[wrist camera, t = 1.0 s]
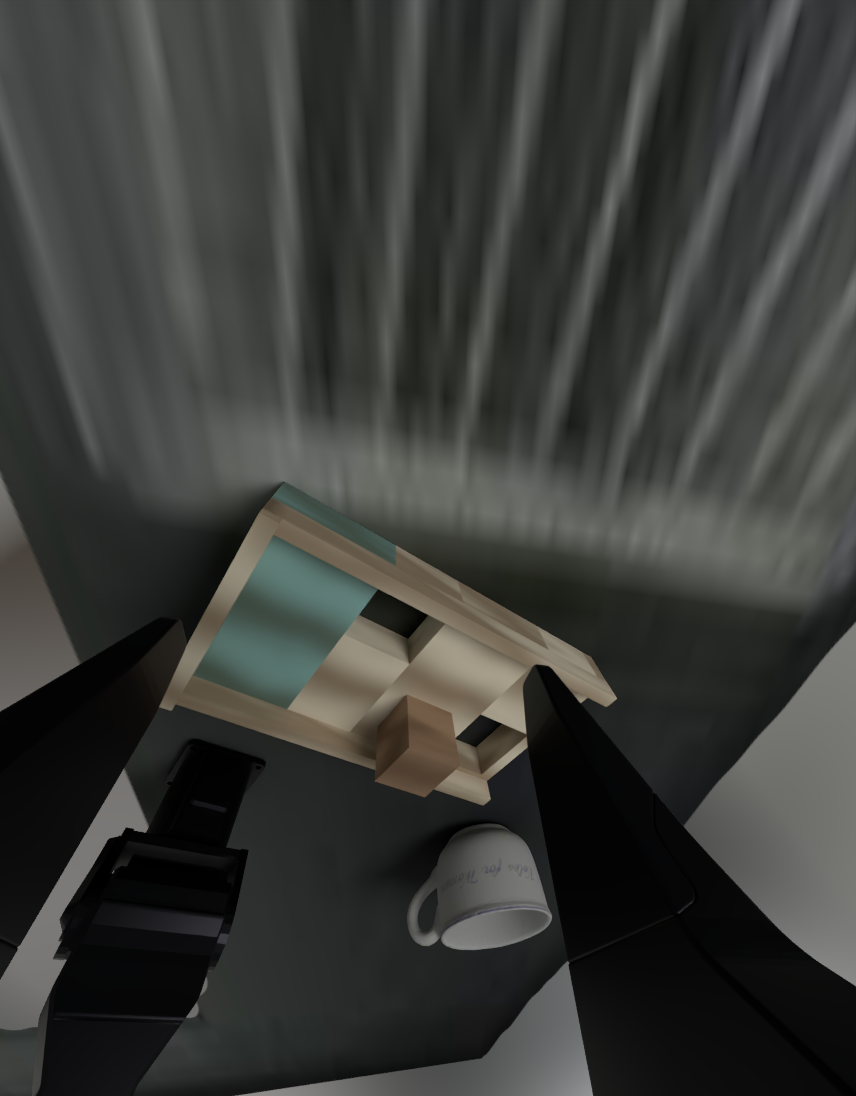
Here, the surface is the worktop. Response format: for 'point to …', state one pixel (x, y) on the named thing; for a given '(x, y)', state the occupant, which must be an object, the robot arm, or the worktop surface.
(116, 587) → the worktop surface
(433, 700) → the track
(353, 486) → the worktop surface
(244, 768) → the robot arm
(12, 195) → the worktop surface
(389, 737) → the walnut block
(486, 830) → the teacup
